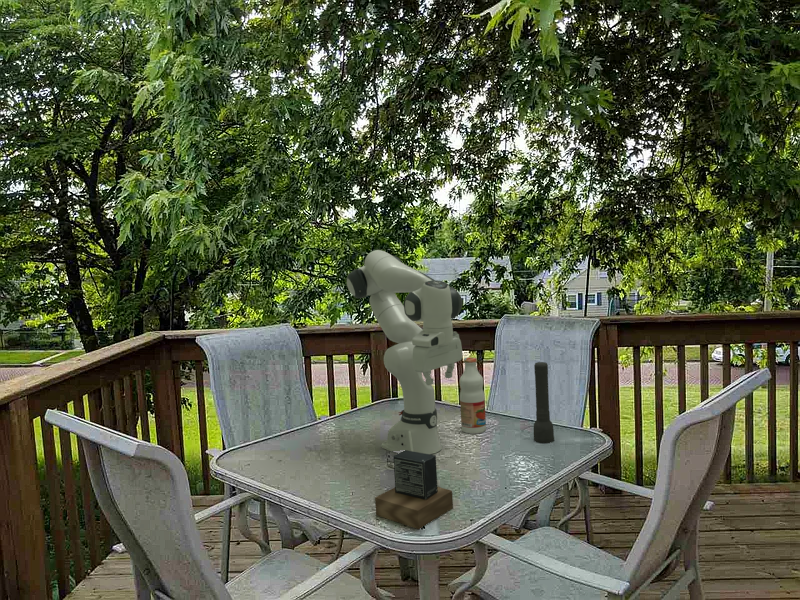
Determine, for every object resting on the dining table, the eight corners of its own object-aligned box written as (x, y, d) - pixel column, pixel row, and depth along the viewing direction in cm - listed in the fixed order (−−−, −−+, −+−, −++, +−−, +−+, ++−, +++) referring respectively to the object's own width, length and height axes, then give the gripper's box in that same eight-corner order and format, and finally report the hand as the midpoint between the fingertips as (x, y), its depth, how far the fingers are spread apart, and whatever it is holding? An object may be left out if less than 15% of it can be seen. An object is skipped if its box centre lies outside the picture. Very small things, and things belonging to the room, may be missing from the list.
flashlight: (556, 442, 218) (551, 436, 225) (553, 364, 215) (548, 360, 222) (536, 443, 218) (531, 437, 225) (533, 365, 215) (528, 361, 222)
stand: (376, 515, 168) (374, 497, 168) (411, 496, 180) (410, 479, 179) (418, 529, 159) (417, 510, 158) (453, 508, 170) (452, 490, 170)
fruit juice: (463, 426, 243) (460, 356, 241) (487, 426, 241) (484, 356, 238) (459, 433, 234) (455, 361, 232) (484, 434, 232) (480, 361, 229)
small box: (439, 491, 169) (437, 454, 168) (426, 500, 164) (424, 462, 163) (407, 484, 176) (405, 448, 175) (394, 492, 170) (392, 455, 169)
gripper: (450, 329, 193) (451, 372, 195) (408, 340, 178) (409, 387, 180) (466, 331, 189) (467, 375, 191) (425, 342, 174) (426, 390, 176)
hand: (439, 381), depth 185 cm, fingers open, 8 cm apart
